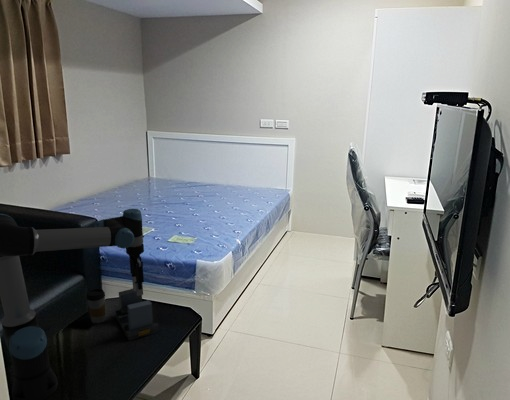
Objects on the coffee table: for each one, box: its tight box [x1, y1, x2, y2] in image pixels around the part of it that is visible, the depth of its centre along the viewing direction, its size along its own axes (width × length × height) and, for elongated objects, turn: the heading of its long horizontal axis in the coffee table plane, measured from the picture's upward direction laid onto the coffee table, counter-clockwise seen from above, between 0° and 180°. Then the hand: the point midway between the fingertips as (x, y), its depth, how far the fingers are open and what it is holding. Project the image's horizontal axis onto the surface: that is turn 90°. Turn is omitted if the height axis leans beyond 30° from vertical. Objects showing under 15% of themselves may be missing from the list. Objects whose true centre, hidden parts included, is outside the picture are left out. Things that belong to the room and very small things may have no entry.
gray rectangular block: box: [127, 299, 153, 331], centre depth 191 cm, size 10×4×12 cm, turn 121°
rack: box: [114, 288, 160, 342], centre depth 197 cm, size 14×25×14 cm, turn 31°
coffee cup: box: [86, 288, 106, 324], centre depth 199 cm, size 8×8×15 cm
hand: (138, 292), depth 187 cm, fingers open, 5 cm apart
